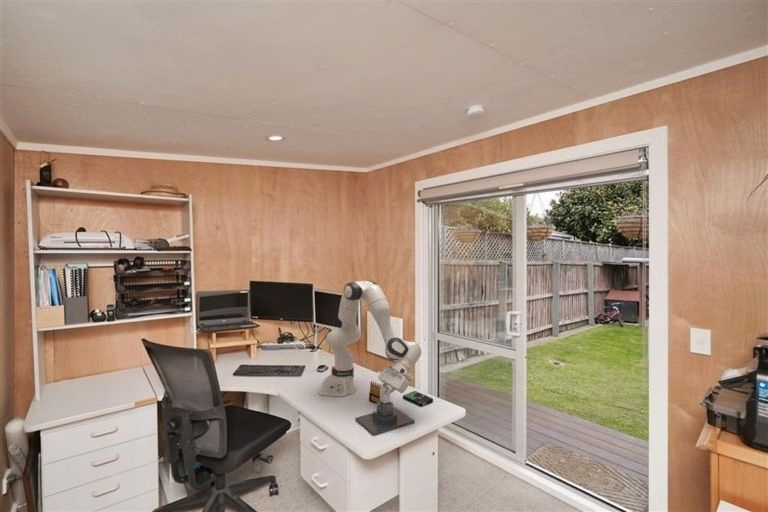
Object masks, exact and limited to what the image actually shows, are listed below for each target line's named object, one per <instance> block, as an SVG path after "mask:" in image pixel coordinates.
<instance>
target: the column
mask: <svg viewBox="0 0 768 512" xmlns="http://www.w3.org/2000/svg"><path fill="white" fill-rule="evenodd" d="M389 389H391V388H390V386H389V385H387V386H382V385H381V387H380V403H381V404H383V405H386V404H389V403H390V402H391V401H390V400H391V394H390V395H389V396H387V395H386V394H385V392H386V391H388V390H389Z"/></svg>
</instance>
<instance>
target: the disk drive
mask: <svg viewBox="0 0 768 512" xmlns="http://www.w3.org/2000/svg"><path fill="white" fill-rule="evenodd" d="M402 400H404V401H406V402H409V403H411V404H413V405H415V406H417V407H419V408H423V407H425V406H427V405H431V404H432V403H434V398H432V397H430V396H429V395H426V394H423V393H421V392H419V391H417V390H414V391H410V392H408V393H406V394H403V395H402Z"/></svg>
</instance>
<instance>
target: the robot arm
mask: <svg viewBox="0 0 768 512" xmlns="http://www.w3.org/2000/svg"><path fill="white" fill-rule="evenodd" d="M364 300H365V302H366V304H367V307H368V309H369V313H370V314H371V316H372V317H373V319H374V321H375V323H376V325H377V326H378V328H379V331H380V332H381V335H382V339H383V341H384V343H385V348H384V349H385V350H384V352H385V356H386V357H387V358H388V360H390V361H395V362H394V363H393V365H389V366H386V367H385V368H383V369H382V371H381V372H380V373H379V375H378V376H377V377H378V379H379V381H380V382H382V383H381V387H382V386H388V387H389V388H390V389H389V390H388V391H386V392H385V394H386V395H387V396H389V395H390V396H391V394H393V393H395V391H397V392H399V393H400V394H402V393H405V392H406V390H407V388H409V386H410V382H412V381H413V379H414V378H413V376H412V374H411V373H410V372H411V371H412V368H413V366H415V365H416V364H417V362H418V361H419V358H420V357H421V356H422V348H421V347H420V346H419V344H418V343H416V342H415V341H408V340H405V339H402V338H399V337H396V336H395V334H394V331H393V329H392V325H391V309H390V305H389V302H388V299H387V297H386V294H385V293H384V291H383V289H382V288H381V286H380V285H378V284H377V283H376V282H375V281H373V280H358V281H350V282H348V283H346V284H345V285H344V287H343V292H342V295H341V298H340V302H339V308H338V315H337V317H338V319H339V320H340V322H341V327H340V328H336V329H335V328H334V329H333V330H331V331H329V332H328V333H327V334H326V336H325V342H326V344H327V346H328V347H329V348H330V349H331V350H332V351H333V352H332V353H333V357H334V366H332V367H331V374H329V375H328V376H326V377H325V378H324V380H323V381H322V385H321V386H320V387H319V388H318V391H317V393H318V395H319V396H325V397H326V396H327V397H339V398H340V397H343V398H344V397H346V396H348V395H352V394H355V392H357V391H356V386H355V381H354V380H355V379H354V376H355V370H354V368H355V367H354V355H353V353H352V352H351V351H350V350H349V348H348V347H349V345H351V344H354V343H356V342H358V341H359V340H360V339H361V337H362V332H361V329H360V327H358V324H357V317H358V310H359V303H360V301H364Z"/></svg>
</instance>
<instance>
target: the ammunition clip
mask: <svg viewBox="0 0 768 512" xmlns="http://www.w3.org/2000/svg"><path fill="white" fill-rule="evenodd" d="M380 387H382V383H379V382H376V381H372V380H370V384H369V393H368V401H369V403H372V404H375V405H377V401H380Z"/></svg>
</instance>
